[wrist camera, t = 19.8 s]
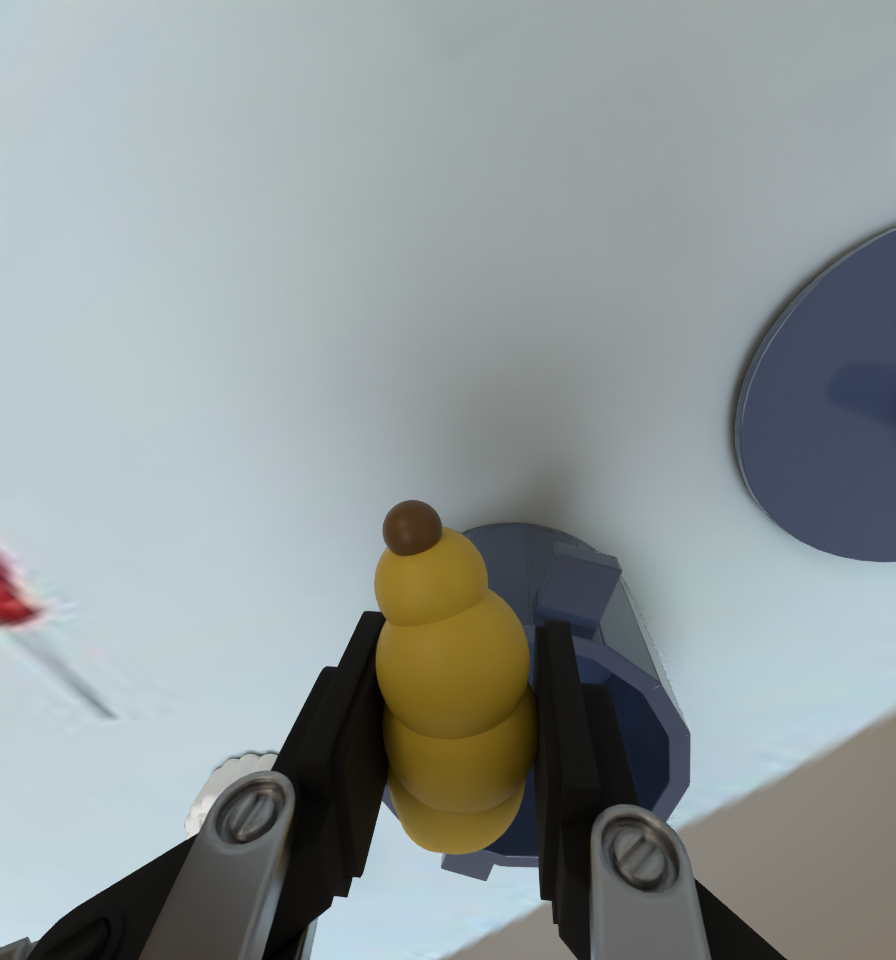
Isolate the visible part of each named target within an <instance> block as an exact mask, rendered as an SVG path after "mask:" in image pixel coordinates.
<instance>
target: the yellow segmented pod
mask: <svg viewBox="0 0 896 960" xmlns="http://www.w3.org/2000/svg"><path fill="white" fill-rule="evenodd" d="M383 538H384V541H385V543H386V545H387V548H386V550H385V551H384V553H383V554H382V556H381V558H380V560H379V562H378V565H377V569H376V573H375V581H374V584H375V595H376V599H377V602H378V605H379V608H380V610H381V612H382V614H383V615H384V617H385V618H386V619H387V620H386V622H385V624H384V626H383V628H382V630H381V633H380V636H379V640H378V643H377V650H376V674H377V679H378V684H379V687H380V690H381V693H382V696H383V698H384V700H385V705H384V710H383V721H382V731H383V740H384V746H385V750H386V753H387V757H388V768H387V779H388V788H389V793H390V797H391V801H392V803H393V806H394V808H395V811H396V813H397V815H398V817H399V820H400V822H401V825H402V827H403V829H404V830H405V832H406V833H407V835H408V836H409V837H410V838H411V839H412V840H413V841H414V842H415V843H416V844H417V845H419V846H420V847H422V848H424V849H426V850H429V851H432V852H437V853H446V854H454V855H460V854H468V853H472V852H476V851H479V850H481V849H483V848H485V847H487V846H489V845H490V844H492V843H493V842H495V841H496V840H497V839H498V838H499V837H500V836H501V835H503V834H504V832H505V831H506V830H507V829H508V827H509V826H510V825H511V823H512V822H513V820H514V818H515V816H516V814H517V812H518V810H519V807H520V804H521V801H522V798H523V794H524V789H525V781H526V777H527V775H528V773H529V771H530V769H531V768H532V766H533V763H534V760H535V757H536V754H537V749H538V711H537V700H536V697H535V694H534V692H533V689H532V686H531V684H530V683H529V681H528V678H529V671H530V652H529V646H528V641H527V637H526V635H525V632H524V629H523V627H522V624H521V622H520V621H519V619H518V617H517V615H516V614H515V612H514V611H513V610H512V608H511V607H510V606H509V605H508V604H507V603H506V602H505V601H504V600H503V599H502V598H501V597H500V596H498V595H497V594H496V593H495V592H493V591H491V590H490V589H488V575H487V570H486V566H485V563H484V560H483V558H482V556H481V554H480V552H479V551H478V550H477V548H476V547H475V546H474V544H473V543H472V542H471V541H470V540H469V539H467V538H466V537H465V536H464V535H462V534H460V533H459V532H457V531H455V530H453V529H450V528H447V527H442V523H441V520H440V517H439V516H438V514H437V512H436V511H435V510H434V509H433V508H432V507H431V506H430V505H428V504H426V503H424V502H421V501H417V500H408V501H404V502H401V503H399V504H397V505H396V506H394V507H393V508H392V509H391V510H390V511H389V512H388V514H387V515H386V517H385V520H384V523H383Z"/></svg>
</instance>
